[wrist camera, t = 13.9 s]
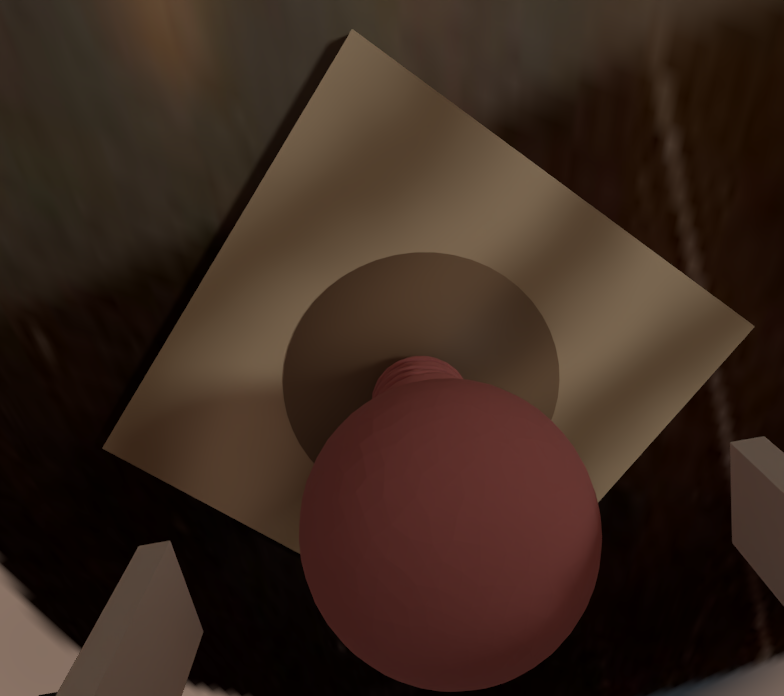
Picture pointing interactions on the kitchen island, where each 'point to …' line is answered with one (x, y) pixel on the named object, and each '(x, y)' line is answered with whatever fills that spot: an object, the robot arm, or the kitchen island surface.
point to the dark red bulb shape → (449, 531)
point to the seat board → (411, 302)
